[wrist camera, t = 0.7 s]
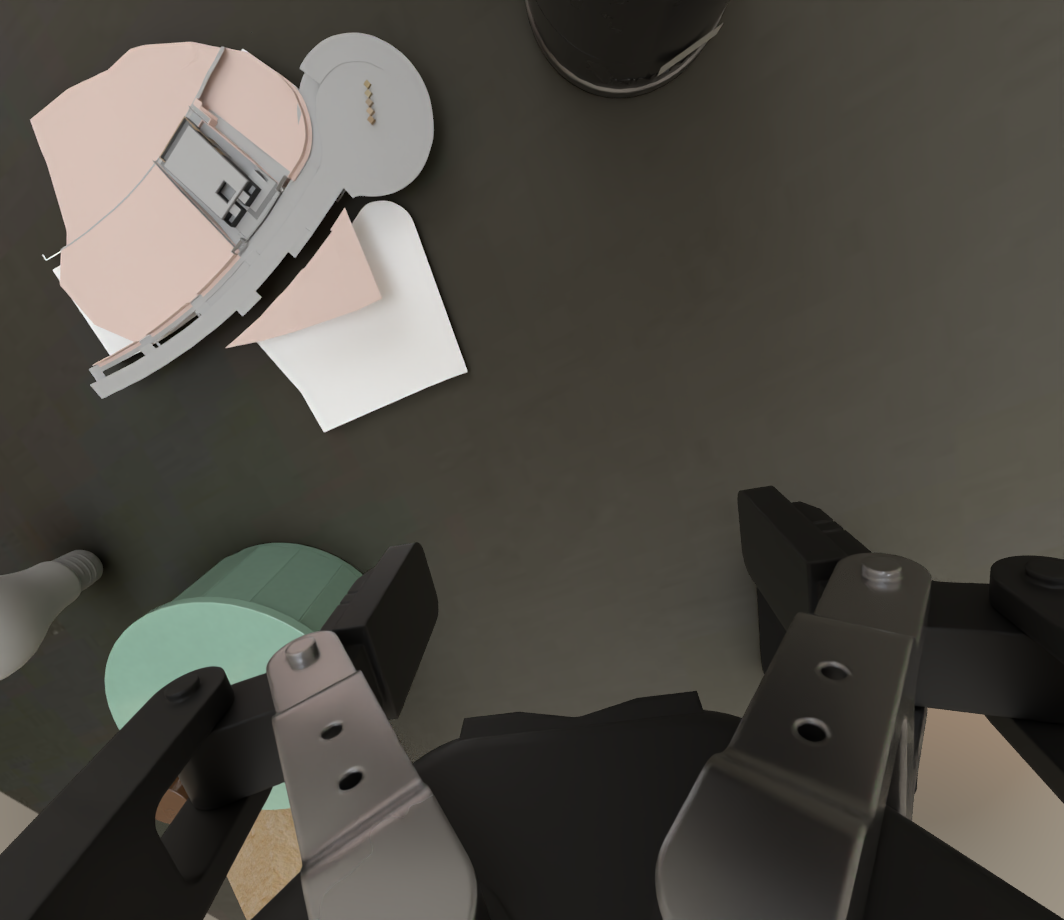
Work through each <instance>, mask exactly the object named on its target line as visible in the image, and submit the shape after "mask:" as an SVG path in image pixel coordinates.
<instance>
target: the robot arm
mask: <svg viewBox="0 0 1064 920" xmlns="http://www.w3.org/2000/svg"><path fill="white" fill-rule="evenodd" d="M729 1H730V0H525V5H526V10H527V15H528V19H529V22H530V26H531V28H532V31H533V34H534V36H535V38H536V41H537V43H538V45H539V47H540V48H541V50H542V52H543V54H544V55H545V57H546V58H547V59H548V61H549V62H550V64H551V65H552V66H553V67H554V68H555V69H556V70H557V71H558V72H559V73H560V74H561V75H562V76H563V77H564V78H565V79H567V80H568V81H569V82H571V83H572V84H574V85H575V86H577V87H579V88H580V89H582V90H585V91H587V92H589V93H592V94H595V95H599V96H604V97H612V98H626V97H633V96H638V95H642V94H645V93H648V92H651V91H653V90H656V89H658V88H659V87H661V86H663V85H665V84H667V83H668V82H670V81H671V80H673V79H674V78H675V77H677V76H678V75H679V74H680V73H682V72H683V71H684V70H685V69H686V68H687V67H688V66H689V65H690V64H691V63H692V62H693V61H694V59H695V58H696V57H697V56H698V55H699V53H700V52H701V51H702V49H703V48H704V46H705V45H706V43H707V42H708V40H709V39H711V38H712V37H714V36H715V35H716V34H717V33H718V31H719V29H720V28H721V26H722V25H723V23H722V24H721V25H720V26H718V27H717V25H718V23H719V21H720V19H721V17H722V14H723V12H724V10H725V7H726V6H727V4H728V2H729ZM716 27H717V28H716ZM738 511H739V522H740V533H741V544H742V553H743V558H744V562H745V565H746V568H747V571H748V573H749V575H750V577H751V578H752V580H753V581H754V583H755V584H756V586H757V587H758V589H759V590H760V592H761V593H762V595H763V596H764V598H765V599H766V601H767V602H768V604H769V606H770V607H771V609H772V610H773V612H774V613H775V615H776V616H777V618H778V619H779V621H780V622H781V624H782V625H783V627H784V628H785V630H786V631H787V632H786V634H785V636H784V638H783V640H782V642H781V644H780V646H779V648H778V650H777V651H776V653H775V655H774V657H773V659H772V661H771V663H770V665H769V667H768V669H767V671H766V673H765V675H764V677H763V679H762V681H761V683H760V685H759V687H758V688H757V690H756V692H755V694H754V696H753V698H752V700H751V702H750V704H749V706H748V708H747V710H746V712H745V714H744V716H743V718H740V717H737V716H733V715H730V714H726V713H720V712H715V711H708V710H703V708H702V705H701V702H700V699H699V696H698V693H697V691H693V692H684V693H676V694H667V695H659V696H650V697H642V698H636V699H633V700H630V701H627V702H624V703H621V704H618V705H615V706H612V707H609V708H605V709H602V710H599V711H596V712H593V713H590V714H587V715H584V716H580V717H566V716H556V715H545V714H535V713H525V712H514V713H506V714H497V715H488V716H480V717H471V718H464V721H463V726H462V730H461V734H460V738H458V739H455V740H453V741H450V742H448V743H446V744H444V745H441V746H439V747H438V748H436V749H434V750H432V751H430V752H429V753H427V754H425V755H424V756H422V757H421V758H420V759H418V760H417V761H415V762H414V763H413V764H412V762H411V760H410V758H409V756H408V755H407V753H406V751H405V749H404V747H403V746H402V744H401V742H400V740H399V738H398V736H397V735H396V733H395V731H394V729H393V727H392V726H391V724H390V722H389V720H390V719H398V718H399V715H400V713H401V710H402V708H403V705H404V702H405V700H406V697H407V695H408V692H409V690H410V687H411V684H412V682H413V679H414V677H415V674H416V672H417V669H418V667H419V664H420V661H421V659H422V656H423V654H424V651H425V649H426V646H427V644H428V641H429V638H430V636H431V633H432V631H433V628H434V626H435V623H436V620H437V617H438V599H437V594H436V590H435V587H434V584H433V580H432V577H431V574H430V570H429V567H428V564H427V560H426V557H425V553H424V550H423V548H422V546H421V545H420V544H419V543H418V542H416V543H409V544H403V545H397V546H391V547H389V548H388V549H387V550H386V552H385V553H384V554H383V556H382V557H381V559H380V560H379V562H378V563H377V565H376V566H375V567H374V568H371V569H370V570H368V571H367V572H366V573H365V574H363V575H362V576H361V577H359V578H358V579H357V580H356V581H355V582H354V584H353V585H352V587H351V588H350V589H349V591H348V592H347V593H348V594H347V595H345V596H344V598H343V599H342V600H341V602H340V605H338V606H337V607H336V609H335V610H334V611H333V613H332V614H331V615H330V617H329V618H328V620H327V621H326V622H325V624H324V625H323V626H322V628H321V629H320V631H317V632H312V633H309V634H306V635H303V636H301V637H298V638H296V639H294V640H292V641H291V642H289V643H287V644H286V645H284V646H283V647H282V648H280V649H279V650H278V651H277V652H276V653H275V654H274V655H273V656H272V657H271V658H270V660H269V661H268V663H267V666H266V673H264V674H261V675H258V676H255V677H252V678H249V679H246V680H243V681H240V682H238V683H235V684H232V685H231V684H230V682H229V680H228V678H227V675H226V673H225V671H224V670H223V668H221V667H217V666H210V667H204V668H200V669H197V670H194V671H191V672H189V673H187V674H185V675H182V676H180V677H179V678H177V679H175V680H173V681H172V682H170V683H168V684H167V685H166V686H164V687H163V688H161V689H160V690H159V691H158V692H156V693H155V694H154V695H153V696H152V697H151V698H150V699H149V700H148V701H147V702H146V703H145V704H144V705H143V707H142V708H141V709H140V710H139V711H138V712H137V713H136V714H135V715H134V716H133V717H132V718H131V719H130V720H129V721H128V722H127V723H126V724H125V725H124V726H123V727H122V728H121V729H120V730H119V732H118V733H117V734H116V735H115V736H114V737H113V738H112V739H111V740H110V741H109V742H108V743H107V744H106V745H105V746H104V747H103V748H102V749H101V750H100V751H99V752H98V753H97V754H96V755H95V757H94V758H93V759H92V760H91V761H90V762H89V763H88V764H87V765H86V766H85V767H84V768H83V769H82V770H81V771H80V772H79V773H78V774H77V775H76V776H75V777H74V778H73V779H72V781H71V782H70V783H69V784H68V785H67V786H66V787H65V788H64V789H63V790H62V791H61V792H60V793H59V794H58V795H57V796H56V797H55V798H54V799H53V800H52V801H51V802H50V803H49V804H48V806H47V807H46V808H45V809H44V810H43V811H42V812H41V813H40V814H39V815H38V816H37V817H36V818H35V819H34V820H33V821H32V822H31V823H30V824H29V825H28V827H26V828H25V830H24V831H23V832H22V833H21V834H20V835H19V836H18V837H17V838H16V839H15V840H14V841H13V842H12V843H11V844H10V845H9V846H8V847H7V848H6V849H5V850H4V851H3V852H2V853H1V855H0V920H203V919H204V917H205V915H206V913H207V912H208V910H209V908H210V906H211V904H212V902H213V900H214V898H215V896H216V895H217V893H218V891H219V889H220V887H221V885H222V883H223V881H224V880H225V878H226V876H227V874H228V872H229V870H230V868H231V866H232V864H233V863H234V861H235V859H236V857H237V855H238V853H239V851H240V849H241V848H242V846H243V844H244V842H245V840H246V838H247V836H248V834H249V832H250V831H251V829H252V827H253V825H254V823H255V821H256V819H257V817H258V816H259V814H260V812H261V810H262V808H263V806H264V804H265V802H266V800H267V799H268V797H269V795H270V793H271V790H272V788H273V787H274V786H276V785H279V784H281V783H284V782H285V785H286V790H287V795H288V799H289V804H290V808H291V813H292V818H293V822H294V827H295V832H296V836H297V841H298V845H299V850H300V855H301V860H302V868H301V870H300V872H299V873H298V874H297V875H296V876H295V877H294V878H293V879H292V880H291V881H290V882H289V883H288V884H287V885H286V886H285V887H284V888H283V889H282V890H281V891H280V892H279V893H278V894H277V895H276V896H274V897H273V898H272V899H271V900H270V901H269V902H268V903H267V904H266V905H265V906H264V907H263V908H262V909H261V910H260V911H259V912H258V913H257V914H256V915H255V916H254V917H253V918H252V919H251V920H1064V919H1063V918H1061V917H1059V916H1058V915H1056V914H1055V913H1053V912H1052V911H1050V910H1048V909H1047V908H1045V907H1044V906H1042V905H1041V904H1039V903H1038V902H1036V901H1035V900H1033V899H1031V898H1030V897H1028V896H1027V895H1025V894H1024V893H1022V892H1021V891H1019V890H1018V889H1016V888H1014V887H1013V886H1011V885H1010V884H1008V883H1007V882H1005V881H1004V880H1002V879H1001V878H999V877H997V876H996V875H994V874H993V873H991V872H990V871H988V870H987V869H985V868H984V867H982V866H980V865H979V864H977V863H976V862H974V861H973V860H971V859H970V858H968V857H967V856H965V855H963V854H962V853H960V852H959V851H957V850H955V849H954V848H953V847H951V846H950V845H948V844H946V843H945V842H943V841H942V840H940V839H939V838H937V837H935V836H934V835H932V834H931V833H929V832H928V831H926V830H925V829H923V828H922V827H920V826H918V825H917V824H915V823H914V822H912V813H913V802H914V793H915V786H916V780H917V774H918V768H919V761H920V755H921V749H922V742H923V736H924V730H925V724H926V717H927V707H928V708H936V709H944V710H952V711H960V712H969V713H976V714H984V715H985V716H986V717H987V719H988V720H989V721H990V722H991V724H992V725H993V726H994V727H995V728H996V729H997V730H998V731H999V732H1000V733H1001V734H1002V736H1003V737H1004V738H1005V739H1006V740H1007V741H1008V742H1009V743H1010V744H1011V746H1012V747H1013V748H1014V749H1015V750H1016V751H1017V752H1018V753H1019V754H1020V756H1021V757H1022V758H1023V759H1024V760H1025V761H1026V762H1027V763H1028V764H1029V765H1030V767H1031V768H1032V769H1033V770H1034V771H1035V772H1036V773H1037V774H1038V776H1040V778H1041V779H1042V780H1043V781H1044V782H1045V783H1046V784H1047V785H1048V787H1049V788H1050V789H1051V790H1052V791H1053V792H1054V793H1055V794H1056V795H1057V796H1058V798H1059V799H1060V800H1061V801H1062V802H1063V803H1064V560H1063V559H1058V558H1052V557H1044V556H1014V557H1008V558H1004V559H1001V560H999V561H996V562H995V563H994V564H993V565H992V566H991V571H990V584H979V583H952V582H938V581H931V575H930V573H929V572H928V570H927V569H926V568H924V567H923V566H922V565H920V564H918V563H917V562H915V561H912V560H910V559H907V558H904V557H901V556H897V555H892V554H885V553H872V552H871V551H870V550H868V549H867V548H866V547H865V546H864V545H862V544H861V543H860V542H859V541H858V540H856V539H855V538H854V537H853V536H852V535H851V534H849V533H848V532H847V531H846V530H844V531H843V528H842V527H841V526H840V525H839V524H837V523H836V522H835V521H834V522H833V519H831V518H830V517H829V516H828V515H827V514H826V513H824V512H823V511H822V510H821V509H819V508H816V507H814V506H811V505H808V504H806V503H803V502H793V503H791V502H790V501H789V500H788V499H787V498H785V497H784V496H783V495H782V494H781V493H780V492H779V491H778V490H777V489H776V488H775V487H773V486H766V487H760V488H754V489H747V490H741V491H739V493H738ZM177 777H179V779H180V781H181V783H182V785H183V787H184V789H185V791H186V792H187V794H188V796H189V798H188V799H187V801H186V802H185V803H184V805H183V806H182V808H181V809H180V811H179V812H178V814H177V815H176V816H175V818H174V819H173V821H172V822H171V824H170V825H169V827H168V828H167V829H166V831H165V832H164V834H163V835H162V837H161V838H160V837H159V835H158V833H157V831H156V827H155V817H156V811H157V808H158V805H159V803H160V801H161V799H162V797H163V796H164V794H165V793H166V792H167V790H168V789H169V788H170V786H171V785H172V784H173V782H174V781H175V779H176V778H177Z"/></svg>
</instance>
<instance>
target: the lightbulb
mask: <svg viewBox="0 0 1064 920" xmlns="http://www.w3.org/2000/svg"><path fill="white" fill-rule="evenodd" d="M102 573H103V565H102V563H101V561H100V560H99V558H98V557H97V556H96V555H94V554H93V553H91V552H89V551H85V550H74V551H72V552H70V553H67V554H65V555H63V556H61V557H59V558H57V559H54V560H53V561H47V562H42V563H39V564H37V565H35V566H33V567H31V568H28V569H26V570H23V571H20V572H17V573H12V574H7V575H0V680H2V679H4V678H6V677H8V676H9V675H11V674H12V673H14V672H15V671H16V670H18V669H19V668H21V667H22V666H23V665H24V664H25V663H26V662H27V661H28V660H29V659H30V658H31V657H32V656H33V655H34V653H35V652H36V651H37V649H38V648H39V646H40V644H41V642H42V641H43V639H44V637H45V635H46V633H47V631H48V629H49V627H50V625H51V623H52V622H53V620H54V619H55V618H56V616H57V615H58V614H59V613H60V612H61V611H62V610H63V609H64V608H65V607H66V606H68V605H69V604H71V603H72V602H73V601H75V600H76V599H77V597H78V596H79V595H80V592H81V591H83V590H85V589H86V588H88V587H89V586H90V585H92V584H93V583H94V582H95V581H97V580H98V579H99V578H100V577H101V576H102Z"/></svg>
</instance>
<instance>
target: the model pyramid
mask: <svg viewBox="0 0 1064 920" xmlns="http://www.w3.org/2000/svg"><path fill="white" fill-rule="evenodd" d="M301 868H302V860H301V855H300V850H299V845H298V841H297V836H296V832H295V827H294V822H293V818H292V813H291V808H288V809H279V810H261V812H260V814H259V816H258V817H257V819H256V821H255V823H254V825H253V827H252V829H251V831H250V832H249V834H248V836H247V838H246V840H245V842H244V844H243V846H242V848H241V849H240V851H239V853H238V855H237V857H236V859H235V861H234V863H233V864H232V866H231V868H230V870H229V872H228V874H227V877H228V880H229V882H230V884H231V886H232V888H233V891H234V893H235V895H236V897H237V899H238V902H239V904H240V906H241V908H242V911H243V913H244V915H245V917H246V919H247V920H251V919H252V918H253V917H254V916H255V915H256V914H257V913H258V912H259V911H260V910H261V909H262V908H263V907H264V906H265V905H266V904H267V903H268V902H269V901H270V900H271V899H272V898H273V897H274V896H276V895H277V894H278V893H279V892H280V891H281V890H282V889H283V888H284V887H285V886H286V885H287V884H288V883H289V882H290V881H291V880H292V879H293V878H294V877H295V876H296V875H297V874H298V873H299V872H300V870H301Z"/></svg>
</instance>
